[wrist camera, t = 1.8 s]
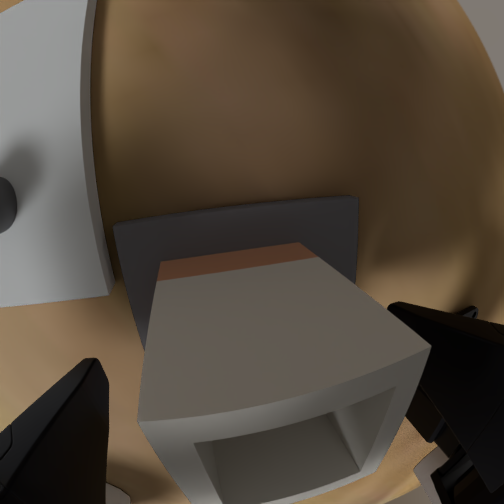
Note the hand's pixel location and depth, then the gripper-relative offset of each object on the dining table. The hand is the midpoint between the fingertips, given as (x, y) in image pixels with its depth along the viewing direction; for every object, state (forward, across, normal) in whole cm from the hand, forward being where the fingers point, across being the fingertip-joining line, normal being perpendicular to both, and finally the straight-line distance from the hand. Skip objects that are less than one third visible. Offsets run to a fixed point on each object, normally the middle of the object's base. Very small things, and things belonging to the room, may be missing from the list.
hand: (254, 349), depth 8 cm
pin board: (+3, +11, -7) cm, 13 cm away
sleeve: (+2, 0, 0) cm, 2 cm away
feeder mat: (+3, 0, 0) cm, 3 cm away
